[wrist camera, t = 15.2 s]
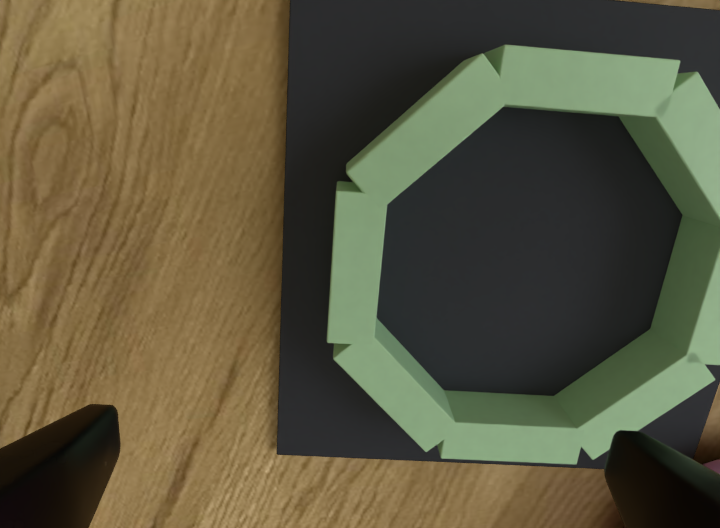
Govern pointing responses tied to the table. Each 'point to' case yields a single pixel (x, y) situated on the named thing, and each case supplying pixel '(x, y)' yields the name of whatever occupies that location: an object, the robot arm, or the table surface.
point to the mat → (476, 214)
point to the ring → (621, 370)
